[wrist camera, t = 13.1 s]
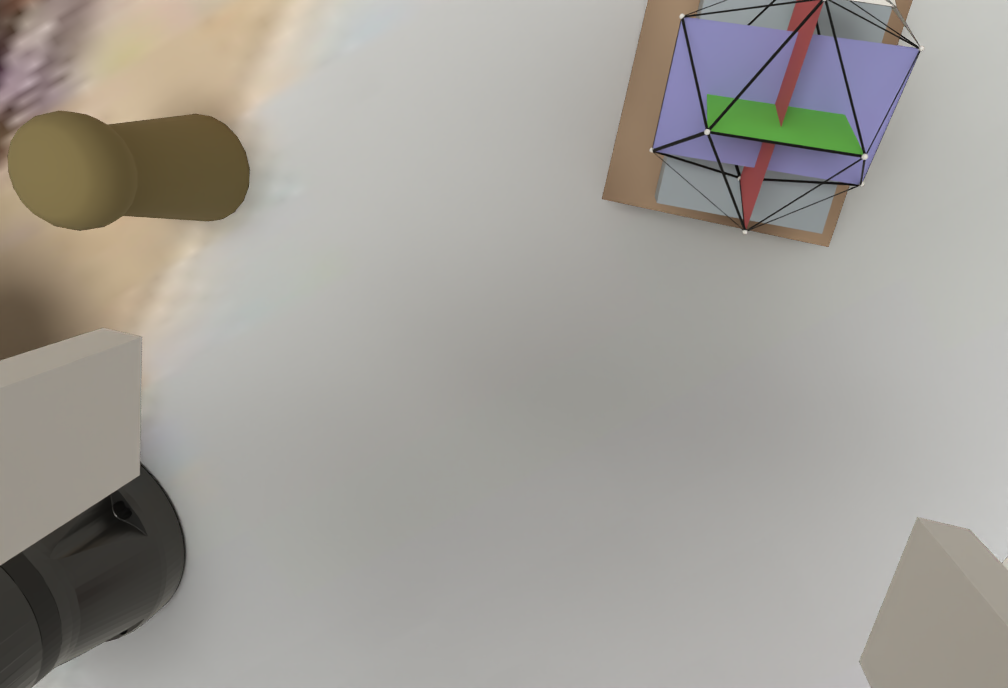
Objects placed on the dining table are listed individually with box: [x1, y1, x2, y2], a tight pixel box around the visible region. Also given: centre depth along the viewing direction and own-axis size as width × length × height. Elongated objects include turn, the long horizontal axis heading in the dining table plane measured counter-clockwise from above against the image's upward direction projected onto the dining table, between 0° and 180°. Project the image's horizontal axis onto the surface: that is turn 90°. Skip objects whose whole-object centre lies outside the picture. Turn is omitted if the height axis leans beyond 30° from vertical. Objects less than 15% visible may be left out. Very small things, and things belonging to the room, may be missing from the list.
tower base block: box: [602, 0, 913, 247], centre depth 31 cm, size 10×10×5 cm
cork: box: [7, 111, 249, 231], centre depth 34 cm, size 6×6×11 cm
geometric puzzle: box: [650, 0, 924, 234], centre depth 21 cm, size 7×7×8 cm
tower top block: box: [655, 0, 893, 234], centre depth 26 cm, size 6×9×5 cm, turn 170°
